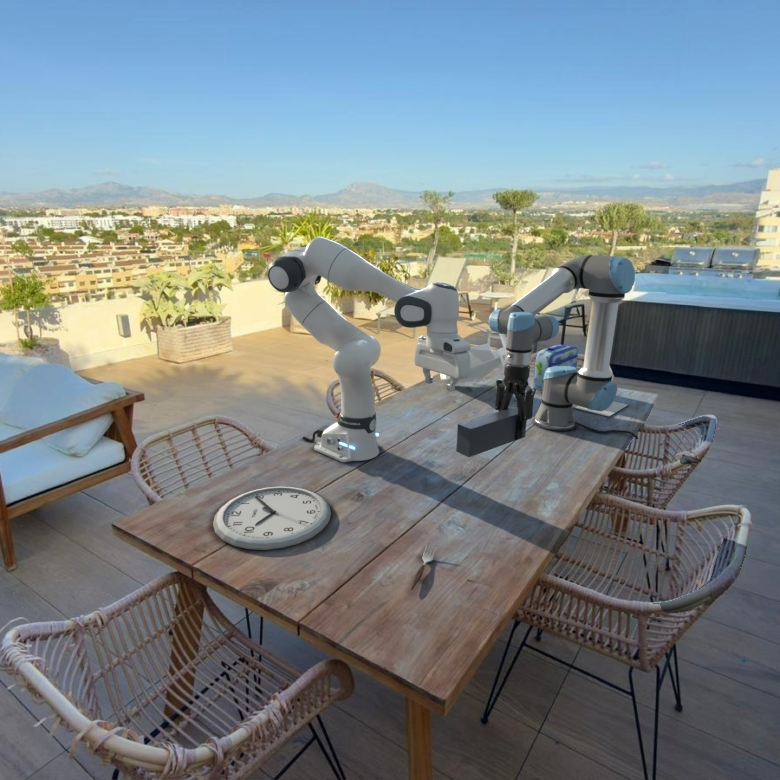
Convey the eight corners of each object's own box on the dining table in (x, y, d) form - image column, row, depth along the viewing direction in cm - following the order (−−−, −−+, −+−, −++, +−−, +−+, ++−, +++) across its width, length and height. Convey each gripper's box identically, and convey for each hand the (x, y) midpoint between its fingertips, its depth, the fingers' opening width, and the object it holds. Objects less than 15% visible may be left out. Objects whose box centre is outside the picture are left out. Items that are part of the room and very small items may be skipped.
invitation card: (608, 416, 214) (573, 407, 224) (608, 416, 214) (573, 408, 224) (628, 404, 229) (594, 396, 238) (628, 405, 229) (594, 397, 238)
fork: (405, 590, 110) (405, 582, 109) (426, 549, 124) (426, 541, 123) (417, 593, 109) (417, 585, 108) (437, 551, 123) (437, 544, 122)
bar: (512, 432, 169) (514, 406, 166) (525, 437, 165) (527, 411, 162) (456, 451, 154) (457, 423, 151) (468, 457, 150) (470, 429, 147)
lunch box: (550, 397, 237) (555, 352, 231) (529, 391, 245) (533, 348, 238) (577, 386, 255) (582, 344, 249) (556, 381, 262) (561, 340, 256)
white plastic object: (461, 429, 252) (437, 405, 227) (444, 352, 274) (420, 323, 250) (535, 404, 240) (518, 377, 215) (510, 326, 262) (492, 293, 237)
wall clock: (329, 541, 123) (198, 546, 121) (329, 547, 124) (199, 552, 121) (332, 482, 152) (226, 484, 149) (332, 487, 152) (226, 489, 150)
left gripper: (409, 335, 156) (408, 380, 160) (459, 348, 141) (456, 397, 145) (425, 333, 160) (424, 376, 164) (475, 345, 144) (472, 393, 148)
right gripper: (486, 359, 162) (481, 429, 169) (534, 372, 148) (526, 448, 155) (502, 356, 166) (496, 424, 173) (550, 368, 153) (542, 442, 160)
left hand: (439, 386), depth 154 cm, fingers open, 8 cm apart
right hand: (511, 435), depth 164 cm, fingers closed on bar, 5 cm apart
